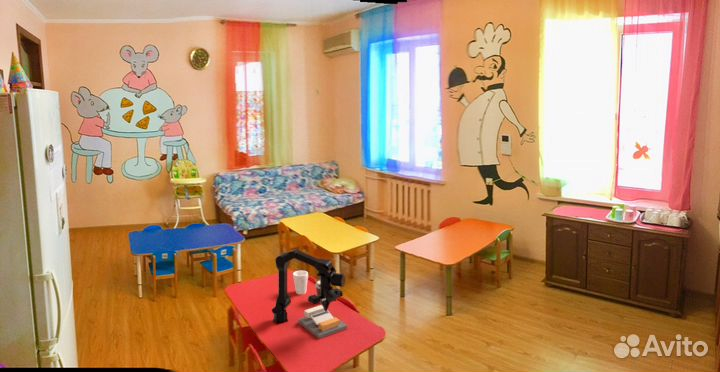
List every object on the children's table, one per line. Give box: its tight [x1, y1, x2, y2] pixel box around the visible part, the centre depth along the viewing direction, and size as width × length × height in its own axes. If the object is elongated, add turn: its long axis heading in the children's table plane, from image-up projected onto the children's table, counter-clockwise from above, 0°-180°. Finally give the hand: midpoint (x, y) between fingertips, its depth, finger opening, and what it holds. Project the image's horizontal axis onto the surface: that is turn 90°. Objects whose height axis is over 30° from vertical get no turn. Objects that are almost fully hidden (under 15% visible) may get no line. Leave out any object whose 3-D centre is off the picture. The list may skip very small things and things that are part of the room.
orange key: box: [319, 316, 341, 331], centre depth 265 cm, size 11×4×3 cm, turn 126°
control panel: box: [297, 314, 348, 340], centre depth 271 cm, size 18×22×4 cm
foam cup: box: [292, 270, 309, 295], centre depth 312 cm, size 10×9×13 cm
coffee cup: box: [314, 279, 321, 304], centre depth 301 cm, size 9×9×12 cm
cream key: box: [304, 304, 325, 318], centre depth 276 cm, size 11×4×3 cm, turn 126°
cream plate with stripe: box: [311, 309, 334, 325], centre depth 270 cm, size 11×7×1 cm, turn 126°
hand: (325, 310), depth 266 cm, fingers closed
